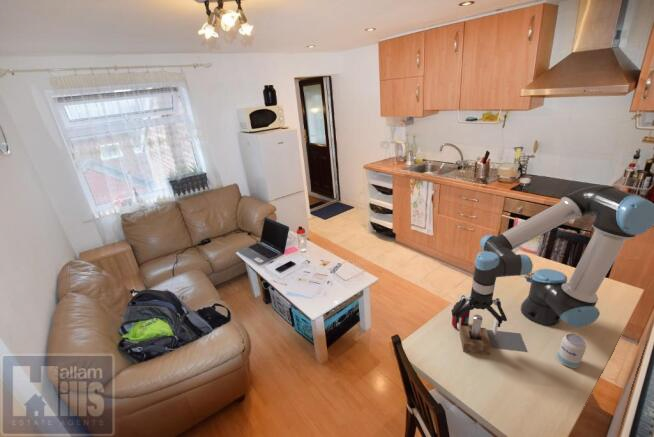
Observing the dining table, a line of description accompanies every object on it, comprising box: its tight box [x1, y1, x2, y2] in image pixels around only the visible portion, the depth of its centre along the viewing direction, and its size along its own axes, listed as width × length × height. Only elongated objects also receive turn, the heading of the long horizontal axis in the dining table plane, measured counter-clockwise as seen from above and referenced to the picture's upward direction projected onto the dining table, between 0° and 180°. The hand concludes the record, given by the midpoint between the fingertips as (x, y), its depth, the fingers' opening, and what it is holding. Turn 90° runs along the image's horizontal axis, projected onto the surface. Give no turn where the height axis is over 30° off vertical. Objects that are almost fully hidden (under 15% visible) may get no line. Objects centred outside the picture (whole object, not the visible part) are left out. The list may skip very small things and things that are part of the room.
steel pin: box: [471, 314, 483, 340], centre depth 124 cm, size 3×3×15 cm
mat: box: [486, 329, 529, 353], centre depth 127 cm, size 14×10×1 cm
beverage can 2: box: [556, 333, 587, 369], centre depth 113 cm, size 7×7×12 cm
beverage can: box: [451, 301, 471, 330], centre depth 134 cm, size 7×7×12 cm
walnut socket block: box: [459, 325, 492, 356], centre depth 126 cm, size 10×10×5 cm
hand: (476, 329), depth 124 cm, fingers open, 13 cm apart
